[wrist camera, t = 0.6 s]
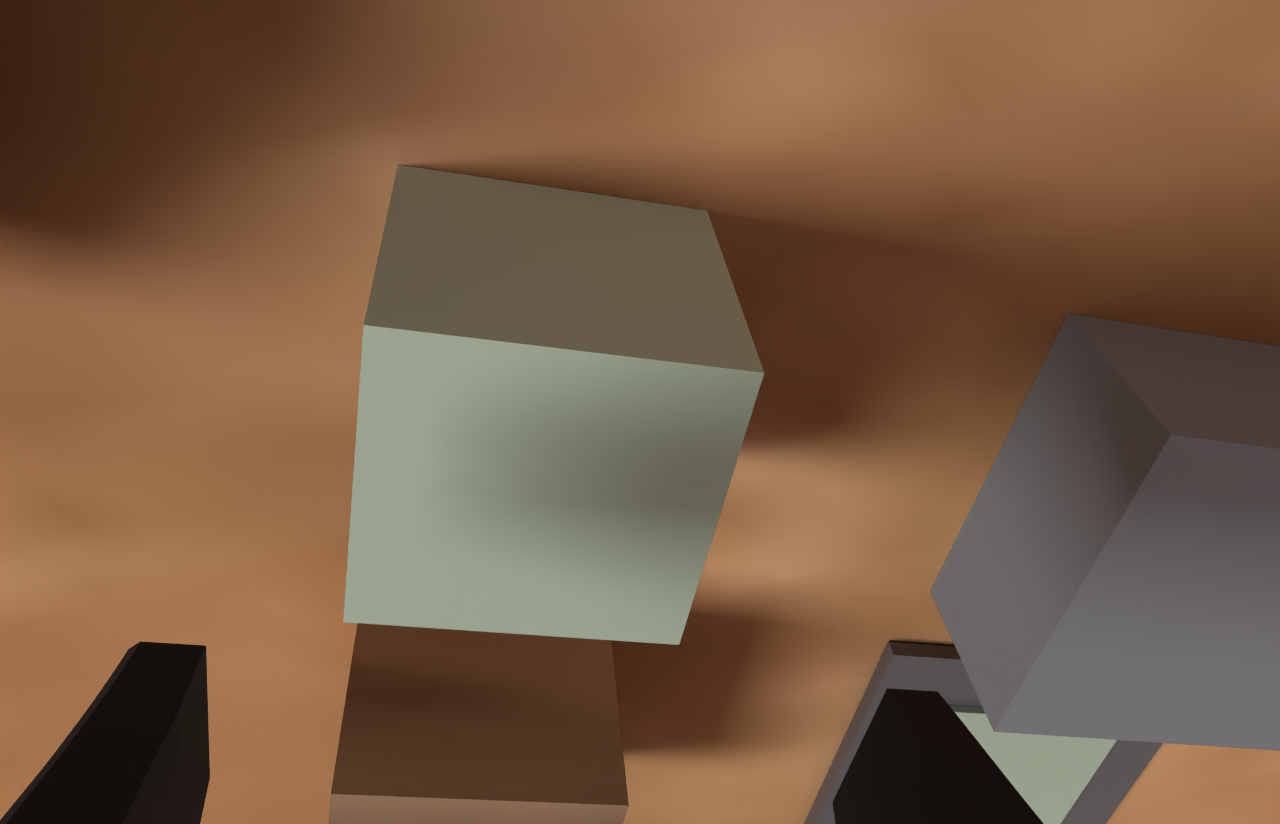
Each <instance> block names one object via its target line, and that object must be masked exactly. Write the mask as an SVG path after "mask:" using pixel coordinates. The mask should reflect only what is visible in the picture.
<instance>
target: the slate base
mask: <svg viewBox="0 0 1280 824" xmlns="http://www.w3.org/2000/svg"><path fill="white" fill-rule="evenodd" d="M930 592H931V594H932V596H933V598H934V601H935V603H936V605H937V607H938V610H939V612H940V614H941V616H942V618H943V621H944V623H945V625H946V627H947V629H948V632H949V634H950V636H951V638H952V641H953V643H954V645H955V647H956V649H957V652H958V654H959V656H960V658H961V660H962V663H963V665H964V667H965V669H966V672H967V674H968V676H969V678H970V680H971V683H972V685H973V687H974V689H975V691H976V694H977V696H978V698H979V700H980V702H981V705H982V707H983V709H984V711H985V714H986V716H987V718H988V720H989V722H990V725H991V727H992V729H993V731H994V732H1004V733H1020V734H1035V735H1050V736H1065V737H1081V738H1096V739H1111V740H1126V741H1141V742H1157V743H1172V744H1187V745H1202V746H1218V747H1233V748H1248V749H1263V750H1279V751H1280V346H1275V345H1268V344H1262V343H1255V342H1249V341H1242V340H1236V339H1229V338H1223V337H1217V336H1210V335H1204V334H1197V333H1191V332H1184V331H1178V330H1171V329H1165V328H1158V327H1152V326H1146V325H1139V324H1133V323H1126V322H1120V321H1113V320H1107V319H1100V318H1094V317H1088V316H1081V315H1075V314H1067V316H1066V318H1065V320H1064V322H1063V324H1062V327H1061V329H1060V331H1059V333H1058V335H1057V337H1056V339H1055V341H1054V343H1053V345H1052V347H1051V349H1050V351H1049V353H1048V355H1047V357H1046V359H1045V361H1044V363H1043V365H1042V367H1041V369H1040V371H1039V373H1038V375H1037V377H1036V379H1035V381H1034V383H1033V385H1032V387H1031V389H1030V391H1029V393H1028V395H1027V397H1026V399H1025V401H1024V403H1023V405H1022V407H1021V409H1020V411H1019V413H1018V415H1017V417H1016V419H1015V421H1014V423H1013V425H1012V427H1011V429H1010V431H1009V433H1008V435H1007V437H1006V439H1005V441H1004V443H1003V445H1002V447H1001V449H1000V451H999V453H998V455H997V458H996V460H995V462H994V464H993V466H992V468H991V470H990V472H989V474H988V476H987V478H986V480H985V482H984V484H983V486H982V488H981V490H980V492H979V494H978V496H977V498H976V500H975V502H974V504H973V506H972V508H971V510H970V512H969V514H968V516H967V518H966V520H965V522H964V524H963V526H962V528H961V530H960V532H959V534H958V536H957V538H956V540H955V542H954V544H953V546H952V548H951V550H950V552H949V554H948V556H947V558H946V560H945V562H944V564H943V566H942V568H941V570H940V572H939V574H938V576H937V578H936V580H935V582H934V584H933V586H932V588H931V591H930Z"/></svg>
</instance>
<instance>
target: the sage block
mask: <svg viewBox="0 0 1280 824" xmlns="http://www.w3.org/2000/svg"><path fill="white" fill-rule="evenodd" d="M763 376H764V371H763V368H762V365H761V362H760V359H759V356H758V354H757V351H756V348H755V345H754V342H753V339H752V337H751V334H750V331H749V328H748V325H747V322H746V320H745V317H744V314H743V311H742V308H741V305H740V303H739V300H738V297H737V294H736V291H735V288H734V286H733V283H732V280H731V277H730V274H729V271H728V269H727V266H726V263H725V260H724V257H723V254H722V252H721V249H720V246H719V243H718V240H717V237H716V234H715V232H714V229H713V226H712V223H711V220H710V217H709V215H708V212H707V210H700V209H694V208H687V207H680V206H673V205H667V204H660V203H653V202H646V201H640V200H633V199H626V198H619V197H613V196H606V195H599V194H592V193H586V192H579V191H572V190H565V189H559V188H552V187H545V186H538V185H532V184H525V183H518V182H511V181H505V180H498V179H491V178H484V177H478V176H471V175H464V174H457V173H451V172H444V171H437V170H430V169H424V168H417V167H410V166H404V165H398V167H397V172H396V177H395V181H394V186H393V191H392V195H391V200H390V205H389V209H388V214H387V219H386V223H385V228H384V233H383V237H382V242H381V247H380V251H379V256H378V261H377V265H376V270H375V275H374V279H373V284H372V289H371V293H370V298H369V303H368V307H367V312H366V317H365V321H364V329H363V343H362V358H361V372H360V387H359V401H358V416H357V431H356V445H355V460H354V474H353V489H352V503H351V518H350V532H349V547H348V562H347V576H346V591H345V605H344V620H343V622H349V623H364V624H379V625H393V626H408V627H423V628H437V629H452V630H467V631H482V632H496V633H511V634H526V635H540V636H555V637H570V638H584V639H599V640H614V641H628V642H643V643H658V644H673V645H679V644H680V641H681V637H682V634H683V631H684V628H685V625H686V622H687V618H688V615H689V612H690V609H691V606H692V602H693V599H694V596H695V593H696V590H697V586H698V583H699V580H700V577H701V574H702V570H703V567H704V564H705V561H706V558H707V554H708V551H709V548H710V545H711V542H712V538H713V535H714V532H715V529H716V526H717V523H718V519H719V516H720V513H721V510H722V507H723V503H724V500H725V497H726V494H727V491H728V487H729V484H730V481H731V478H732V475H733V471H734V468H735V465H736V462H737V459H738V455H739V452H740V449H741V446H742V443H743V439H744V436H745V433H746V430H747V427H748V424H749V420H750V417H751V414H752V411H753V408H754V404H755V401H756V398H757V395H758V392H759V388H760V385H761V382H762V379H763Z"/></svg>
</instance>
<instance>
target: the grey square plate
mask: <svg viewBox="0 0 1280 824" xmlns="http://www.w3.org/2000/svg"><path fill="white" fill-rule="evenodd" d="M887 688H890V689H907V690H923V691H938V692H939V694H940V695H941V696H942V697H943V699H944V700H945V701H946V702H947V703H948V705H949V706H950V707H951V708H952V709H953V711H954V712H955V713H956V714H957V716H958V717H959V718H960V719H961V721H962V722H963V723H964V724H965V726H966V727H967V728H968V730H969V731H970V732H971V733H972V735H973V736H974V737H975V738H976V740H977V741H978V742H979V743H980V745H981V746H982V747H983V748H984V750H985V751H986V752H987V754H988V755H989V756H990V757H991V759H992V760H993V761H994V762H995V764H996V765H997V766H998V767H999V769H1000V770H1001V771H1002V772H1003V774H1004V775H1005V776H1006V777H1007V779H1008V780H1009V781H1010V782H1011V784H1012V785H1013V786H1014V787H1015V789H1016V790H1017V791H1018V792H1019V794H1020V795H1021V796H1022V797H1023V799H1024V800H1025V801H1026V802H1027V804H1028V805H1029V806H1030V807H1031V809H1032V810H1033V811H1034V812H1035V814H1036V815H1037V816H1038V817H1039V818H1040V820H1041V821H1042V822H1043V823H1044V824H1106V822H1107V821H1108V819H1109V818H1110V817H1111V815H1112V814H1113V812H1114V811H1115V810H1116V808H1117V807H1118V805H1119V804H1120V802H1121V801H1122V800H1123V798H1124V797H1125V795H1126V794H1127V793H1128V791H1129V790H1130V788H1131V787H1132V786H1133V784H1134V783H1135V781H1136V780H1137V779H1138V777H1139V776H1140V774H1141V773H1142V772H1143V770H1144V769H1145V767H1146V766H1147V765H1148V763H1149V762H1150V760H1151V759H1152V758H1153V756H1154V755H1155V753H1156V752H1157V751H1158V749H1159V748H1160V746H1161V745H1162V744H1163V743H1157V742H1141V741H1126V740H1111V739H1096V738H1081V737H1065V736H1050V735H1035V734H1020V733H1004V732H994V731H993V729H992V727H991V725H990V722H989V720H988V718H987V716H986V714H985V711H984V709H983V707H982V705H981V702H980V700H979V698H978V696H977V694H976V691H975V689H974V687H973V685H972V683H971V680H970V678H969V676H968V674H967V672H966V669H965V667H964V665H963V663H962V660H961V658H960V656H959V654H958V652H957V649H956V647H955V646H943V645H929V644H915V643H901V642H888V644H887V646H886V648H885V650H884V653H883V655H882V657H881V659H880V661H879V663H878V666H877V668H876V670H875V672H874V674H873V676H872V678H871V681H870V683H869V685H868V687H867V689H866V691H865V694H864V696H863V698H862V700H861V702H860V704H859V707H858V709H857V711H856V713H855V715H854V717H853V720H852V722H851V724H850V726H849V728H848V730H847V732H846V735H845V737H844V739H843V741H842V743H841V745H840V748H839V750H838V752H837V754H836V756H835V758H834V761H833V763H832V765H831V767H830V769H829V771H828V774H827V776H826V778H825V780H824V782H823V784H822V787H821V789H820V791H819V793H818V795H817V797H816V799H815V802H814V804H813V806H812V808H811V810H810V812H809V815H808V817H807V819H806V821H805V823H804V824H835V817H834V810H833V803H832V802H833V800H834V798H835V796H836V793H837V791H838V789H839V787H840V785H841V783H842V781H843V779H844V777H845V775H846V773H847V771H848V768H849V766H850V764H851V762H852V760H853V758H854V756H855V754H856V752H857V750H858V748H859V746H860V743H861V741H862V739H863V737H864V735H865V733H866V731H867V729H868V727H869V725H870V723H871V721H872V719H873V716H874V714H875V712H876V710H877V708H878V706H879V704H880V702H881V700H882V698H883V696H884V694H885V691H886V689H887Z"/></svg>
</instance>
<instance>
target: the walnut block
mask: <svg viewBox="0 0 1280 824" xmlns="http://www.w3.org/2000/svg"><path fill="white" fill-rule="evenodd" d="M628 806H629V805H628V795H627V786H626V776H625V766H624V757H623V747H622V737H621V728H620V718H619V708H618V699H617V689H616V679H615V670H614V660H613V650H612V641H611V640H599V639H584V638H570V637H555V636H540V635H526V634H511V633H496V632H482V631H467V630H452V629H437V628H423V627H408V626H393V625H379V624H364V623H358V624H357V630H356V637H355V643H354V650H353V656H352V662H351V669H350V675H349V682H348V688H347V694H346V701H345V707H344V714H343V720H342V726H341V733H340V739H339V746H338V752H337V758H336V765H335V771H334V778H333V784H332V790H331V800H330V815H329V824H623V822H624V819H625V815H626V812H627V809H628Z"/></svg>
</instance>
